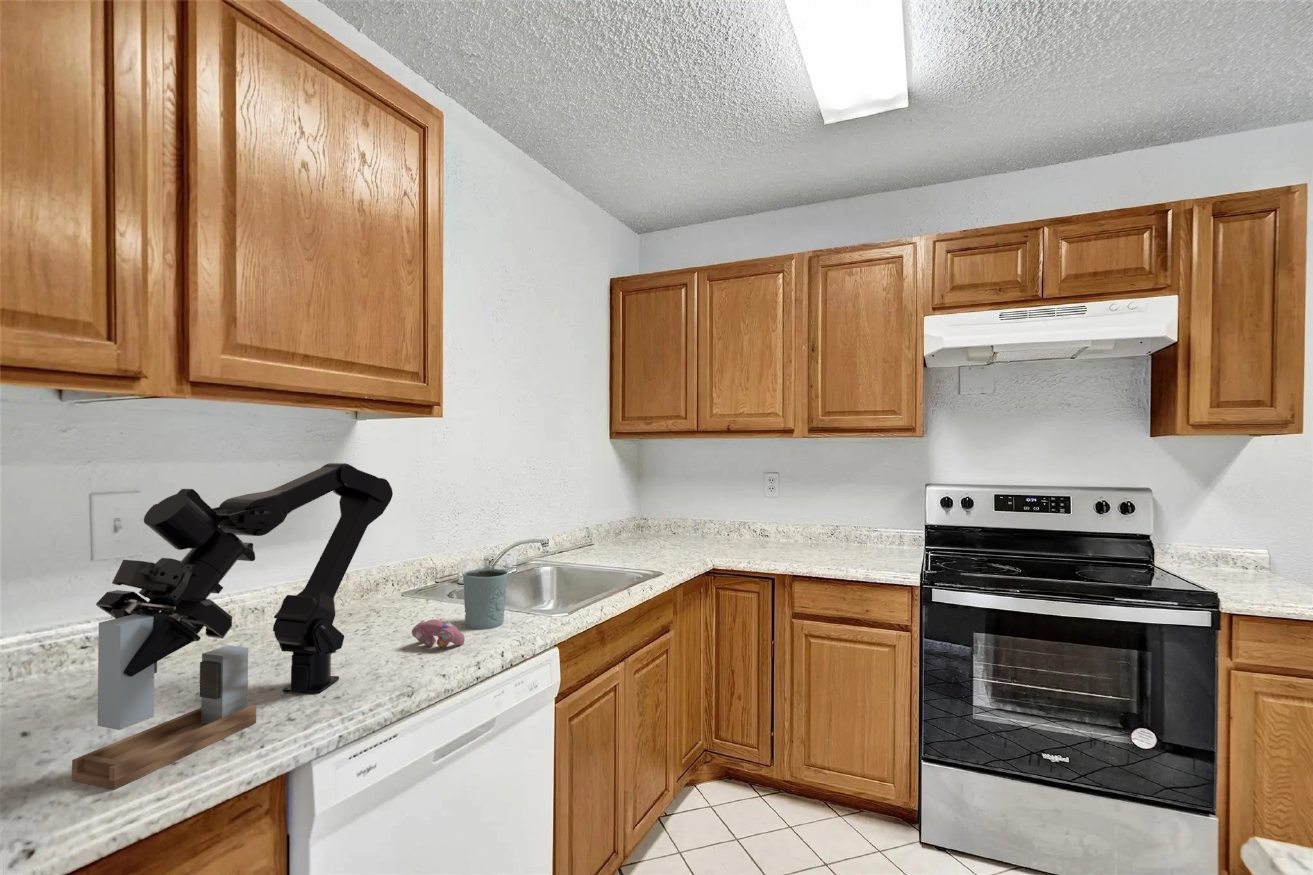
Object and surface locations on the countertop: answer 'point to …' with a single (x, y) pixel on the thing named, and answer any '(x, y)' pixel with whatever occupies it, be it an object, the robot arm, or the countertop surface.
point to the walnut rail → (178, 726)
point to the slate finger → (118, 692)
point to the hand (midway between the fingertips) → (114, 673)
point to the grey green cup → (484, 598)
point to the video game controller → (437, 633)
